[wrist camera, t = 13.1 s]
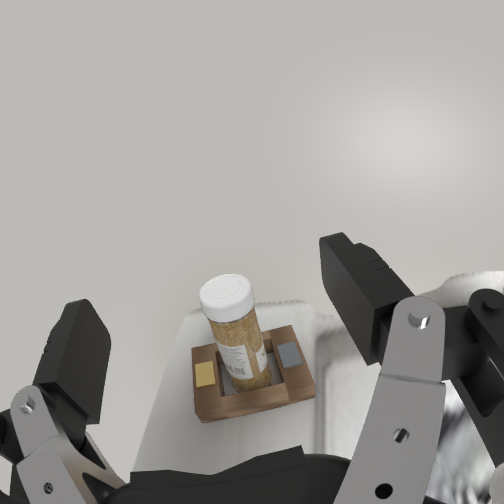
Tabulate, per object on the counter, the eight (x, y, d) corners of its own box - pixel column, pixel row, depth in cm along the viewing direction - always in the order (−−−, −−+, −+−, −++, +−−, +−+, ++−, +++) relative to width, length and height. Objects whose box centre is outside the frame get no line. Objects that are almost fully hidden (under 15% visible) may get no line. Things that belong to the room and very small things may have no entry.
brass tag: (213, 362, 33) (212, 360, 33) (215, 385, 30) (215, 383, 30) (195, 366, 33) (195, 364, 32) (197, 388, 30) (196, 387, 30)
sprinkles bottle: (280, 378, 32) (262, 283, 25) (250, 404, 30) (218, 314, 23) (253, 358, 35) (228, 265, 29) (223, 381, 33) (187, 290, 26)
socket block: (292, 338, 37) (291, 324, 36) (315, 397, 29) (314, 384, 28) (197, 361, 36) (191, 348, 35) (202, 422, 29) (195, 411, 27)
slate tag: (294, 342, 33) (294, 341, 33) (302, 364, 31) (302, 362, 30) (277, 347, 33) (276, 345, 33) (284, 369, 30) (283, 367, 30)
